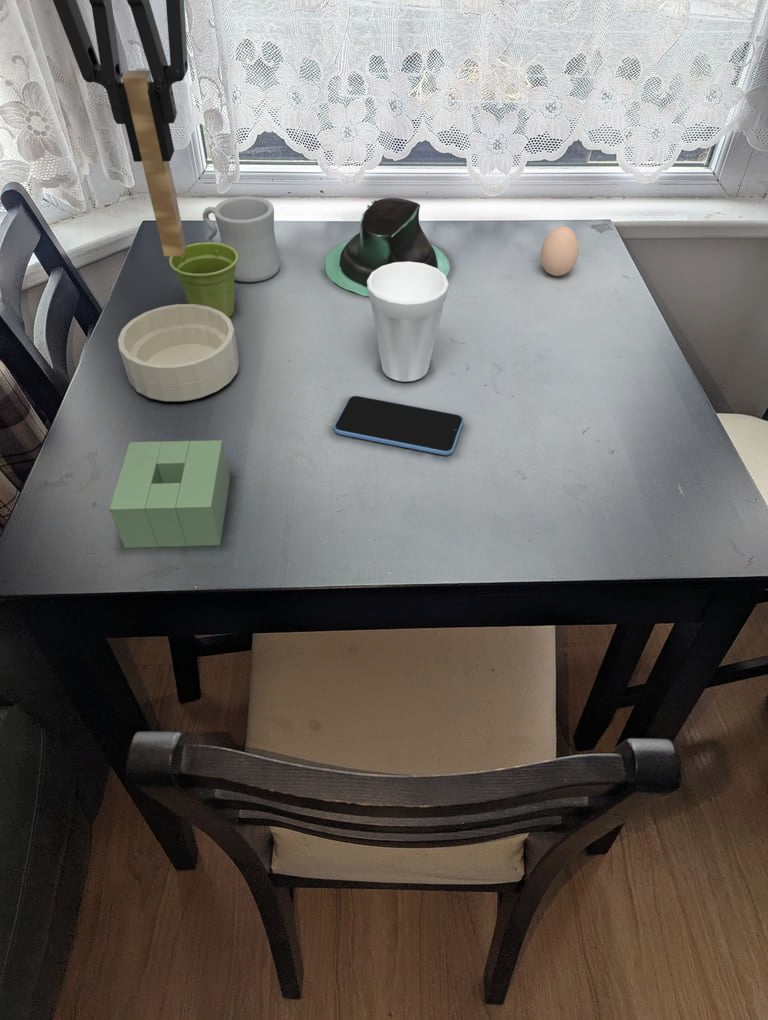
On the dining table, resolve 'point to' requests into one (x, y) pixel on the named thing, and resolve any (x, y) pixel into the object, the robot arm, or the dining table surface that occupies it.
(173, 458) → the holder
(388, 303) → the cup
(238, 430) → the dining table surface
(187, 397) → the bowl
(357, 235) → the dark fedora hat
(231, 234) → the mug
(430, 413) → the smartphone
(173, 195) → the stirring stick
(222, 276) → the plant pot
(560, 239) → the egg
